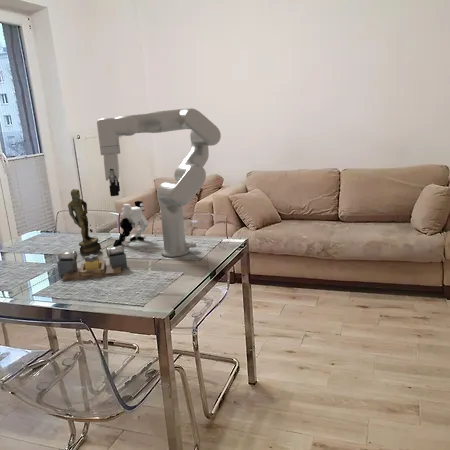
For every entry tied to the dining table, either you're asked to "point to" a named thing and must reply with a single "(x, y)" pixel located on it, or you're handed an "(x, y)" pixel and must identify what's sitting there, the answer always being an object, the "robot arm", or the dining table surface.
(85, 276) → the bed
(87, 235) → the statue
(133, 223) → the robot toy
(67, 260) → the shaft
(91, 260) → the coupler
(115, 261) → the shaft
